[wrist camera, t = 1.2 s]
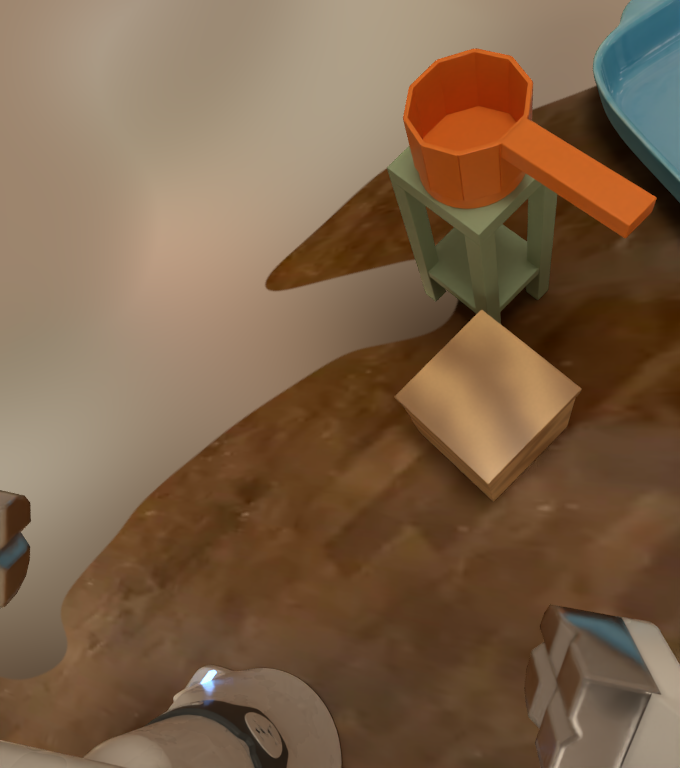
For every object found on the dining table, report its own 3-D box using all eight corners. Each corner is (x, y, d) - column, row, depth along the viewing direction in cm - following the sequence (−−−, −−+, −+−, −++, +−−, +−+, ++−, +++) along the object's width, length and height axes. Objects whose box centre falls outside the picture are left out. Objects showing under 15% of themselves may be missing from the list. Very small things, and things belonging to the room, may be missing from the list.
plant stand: (491, 347, 62) (478, 235, 43) (425, 293, 65) (386, 167, 46) (548, 289, 62) (561, 152, 43) (479, 239, 66) (463, 91, 46)
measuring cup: (395, 173, 46) (378, 116, 40) (472, 97, 46) (466, 30, 41) (581, 310, 39) (591, 263, 34) (670, 220, 40) (694, 159, 34)
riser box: (493, 505, 57) (487, 484, 47) (415, 430, 61) (393, 396, 51) (570, 426, 58) (582, 388, 47) (487, 357, 62) (481, 308, 51)
